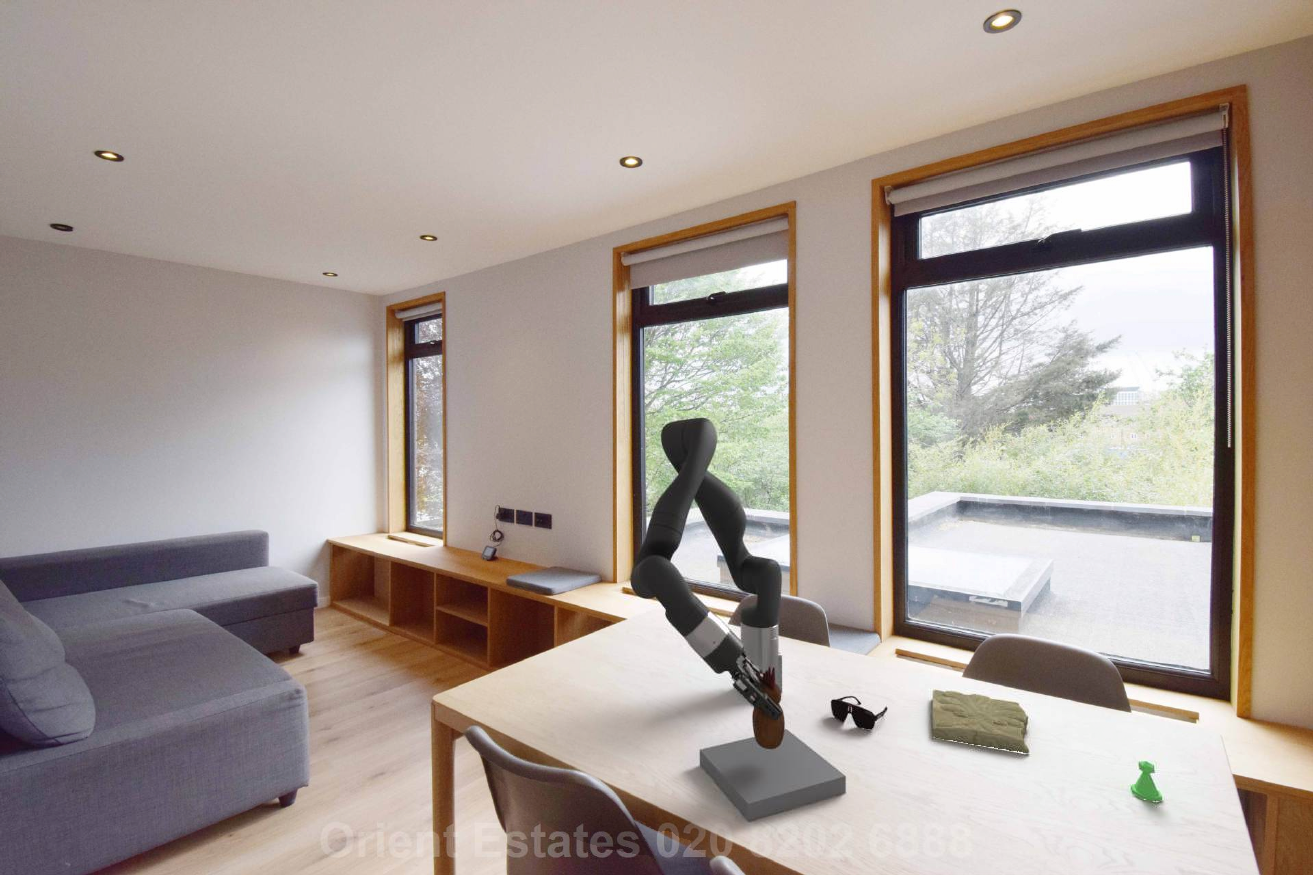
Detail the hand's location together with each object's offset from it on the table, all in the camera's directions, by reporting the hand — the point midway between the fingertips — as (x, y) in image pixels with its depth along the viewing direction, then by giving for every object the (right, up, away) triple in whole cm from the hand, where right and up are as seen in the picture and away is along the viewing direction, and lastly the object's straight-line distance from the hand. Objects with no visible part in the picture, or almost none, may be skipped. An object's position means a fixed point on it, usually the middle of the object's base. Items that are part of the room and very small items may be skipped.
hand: (777, 707), depth 109 cm
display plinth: (-1, -13, 0) cm, 13 cm away
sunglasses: (+24, -13, +24) cm, 36 cm away
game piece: (+64, -13, -5) cm, 65 cm away
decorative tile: (+48, -13, +19) cm, 54 cm away
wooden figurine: (-2, -7, 0) cm, 7 cm away
